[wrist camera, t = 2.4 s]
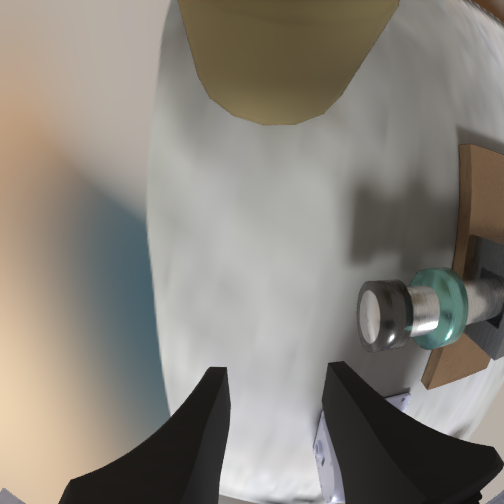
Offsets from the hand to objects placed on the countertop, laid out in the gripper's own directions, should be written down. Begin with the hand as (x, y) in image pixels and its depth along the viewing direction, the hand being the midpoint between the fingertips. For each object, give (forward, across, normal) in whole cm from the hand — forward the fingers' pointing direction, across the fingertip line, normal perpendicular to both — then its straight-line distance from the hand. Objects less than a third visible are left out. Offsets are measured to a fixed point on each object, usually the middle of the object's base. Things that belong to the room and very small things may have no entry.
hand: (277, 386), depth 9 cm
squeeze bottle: (+10, 0, -14) cm, 17 cm away
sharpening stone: (+9, -20, 0) cm, 23 cm away
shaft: (+7, -13, 0) cm, 15 cm away
